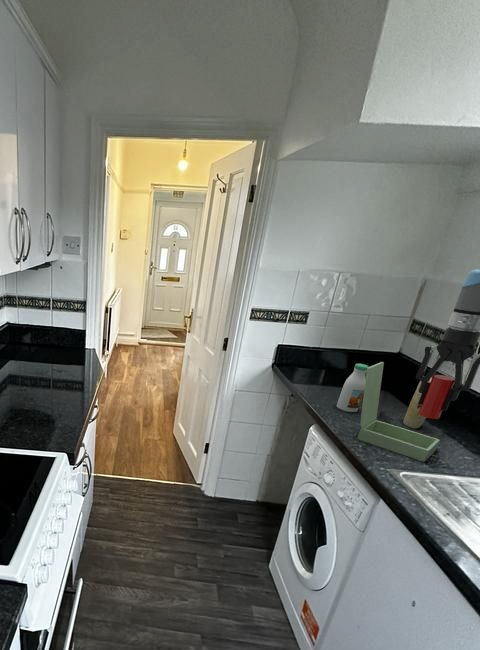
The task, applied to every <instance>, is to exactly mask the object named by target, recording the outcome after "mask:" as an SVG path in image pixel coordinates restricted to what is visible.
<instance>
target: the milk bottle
mask: <svg viewBox="0 0 480 650" xmlns="http://www.w3.org/2000/svg"><path fill="white" fill-rule="evenodd" d="M368 367H369V365H367V364H364V363H355V365H354V368H353V371H352V373H351V374H350V375H349V376H348V377H347V378H346V380H345V382H344V384H343V385H342V389H341V391H340V395H339V397H338V400H337V402H336V408H338V409H339V410H341V411H344V412H349V413H356V412H358V410H359V407H360V405H361V402H362V400H363V398H364V389H365V381H366V373H367V368H368Z"/></svg>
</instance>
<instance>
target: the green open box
mask: <svg viewBox="0 0 480 650" xmlns="http://www.w3.org/2000/svg"><path fill="white" fill-rule="evenodd" d="M356 440H359V441H361V442H365V443H367V444H370V445H373V446H376V447H379V448H381V449H385V450H387V451H391V452H393V453H397V454H399V455H403V456H406V457H408V458H411V459H413V460H417V461H420V462H422V463H424V462H426V461H427V460H428V459H429V458H430V457H431V456H432V455H433V454H434V453H435V452H436V450H437V449H438V446H439V444H440V441H441V439H438V438H436V437H432V436H429V435H426V434H423V433H420V432H417V431H413V430H410V429H407V428H403V427H401V426H397V425H394V424H391V423H388V422H384V421H381V420H378V419H375V420H373V421H372V422H370V423H369V424H367V425H365V426H364V427H360V429H359V433H358V435H357V438H356Z"/></svg>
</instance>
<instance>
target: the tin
mask: <svg viewBox="0 0 480 650" xmlns="http://www.w3.org/2000/svg"><path fill="white" fill-rule="evenodd" d="M454 385H455V377H454V378H453V377H451V376H447V375H443V374H434V375H433V376H432V379H431V382H430V384H429V387H428V390H427V392H426V395H425V397H424V400H423V402H422V405H421V407H420V410H419V412H418V414H419V415H421V416H424V417H427V418H426V419H433V420H438V419H440V418H441V415H442V413H443V411H442V408H443V406H444V404H445V401H446V399H447V396H448V394H449V392H450V390H451V389H452V388H454Z"/></svg>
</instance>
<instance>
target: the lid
mask: <svg viewBox="0 0 480 650" xmlns="http://www.w3.org/2000/svg"><path fill="white" fill-rule="evenodd" d="M384 364H385V362H384V361H380V362H378V363H376V364H373V365H371V366H368V368H367V372H366V374H365V379H366V381H365V389H364V394H363V397H362V408H361V414H360V415H361V416H360V424H359V428H362V427H364V426H366V425H367V424H369V423H370V422H372V421H373V420H377V419H378V411H379V402H380V394H381V388H382V387H381V386H382V381H383V380H382V379H383V372H384V366H385V365H384Z"/></svg>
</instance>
